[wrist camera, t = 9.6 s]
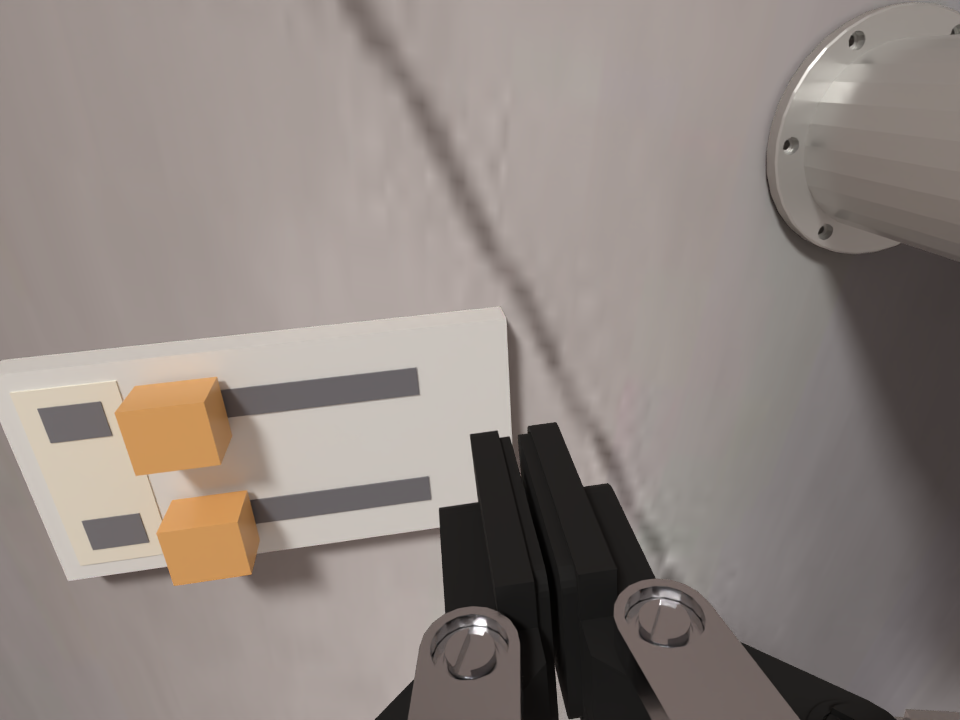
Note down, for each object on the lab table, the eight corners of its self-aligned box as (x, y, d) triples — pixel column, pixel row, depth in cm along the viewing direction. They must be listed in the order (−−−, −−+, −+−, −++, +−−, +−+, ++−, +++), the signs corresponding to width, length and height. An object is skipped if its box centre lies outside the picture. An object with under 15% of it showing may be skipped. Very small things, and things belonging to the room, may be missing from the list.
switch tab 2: (247, 490, 36) (237, 522, 33) (260, 540, 37) (251, 574, 35) (172, 500, 35) (156, 533, 33) (188, 550, 37) (174, 585, 34)
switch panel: (499, 306, 36) (507, 319, 34) (509, 497, 41) (515, 518, 39) (2, 359, 33) (-21, 378, 31) (82, 557, 39) (66, 583, 37)
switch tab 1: (217, 376, 33) (203, 402, 30) (232, 435, 34) (220, 464, 32) (134, 386, 32) (114, 412, 30) (153, 445, 34) (135, 475, 31)
